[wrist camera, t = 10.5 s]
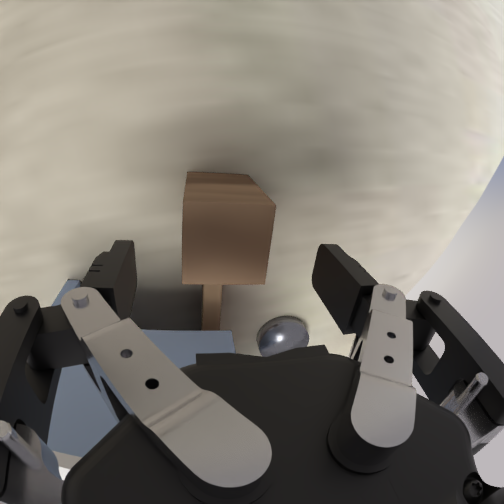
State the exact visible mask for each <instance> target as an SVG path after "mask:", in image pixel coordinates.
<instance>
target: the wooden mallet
mask: <svg viewBox="0 0 504 504" xmlns="http://www.w3.org/2000/svg"><path fill="white" fill-rule="evenodd" d="M275 210H276V205H275V204H274V202H273V201H272V200H271V199H270V198H269V197H268V196H267V195H266V194H265V193H264V192H263V191H262V190H261V189H260V187H259V186H258V185H257V184H256V183H255V182H254V181H253V180H252V179H251V178H250V177H249V176H248V175H241V174H225V173H204V172H187V179H186V185H185V192H184V199H183V221H182V284H202V331H220V316H221V300H222V285H248V284H265V279H266V273H267V266H268V259H269V252H270V245H271V238H272V232H273V224H274V217H275Z"/></svg>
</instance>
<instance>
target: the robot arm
mask: <svg viewBox="0 0 504 504" xmlns="http://www.w3.org/2000/svg"><path fill="white" fill-rule="evenodd" d="M312 285H313V288H314V289H315V291H316V292H317V294H318V296H319V297H320V299H321V300H322V302H323V303H324V305H325V306H326V308H327V310H328V311H329V313H330V314H331V316H332V317H333V319H334V320H335V322H336V324H337V325H338V327H339V328H340V330H341V332H342V333H343V335H344V334H352V333H355V334H356V335H355V338H354V340H353V343H352V347H351V350H350V354H349V357H345V356H342V355H337V354H329V352H328V350H327V348H326V347H325V345H318V346H309V347H299V348H294V349H291V350H288V351H284V352H281V353H278V354H275V355H271V356H267V357H260V356H252V355H244V354H236V353H197V354H196V364H192V365H188V366H185V367H182V368H180V369H179V368H178V367H177V366H176V365H175V364H174V363H173V362H172V361H171V360H170V359H169V358H168V357H167V356H166V355H165V354H164V353H163V352H162V351H161V350H160V349H159V348H158V347H157V346H156V345H155V344H154V343H153V342H152V341H151V340H150V339H149V338H148V337H147V336H146V335H145V334H144V333H143V331H142V330H141V329H140V328H139V327H138V326H137V325H136V324H135V323H134V322H133V321H132V320H131V319H130V318H129V317H130V312H131V308H132V304H133V300H134V296H135V291H136V286H137V273H136V262H135V249H134V242H133V240H116V241H115V242H114V244H113V246H112V248H111V250H110V252H103V253H101V254H100V255H98V256H97V257H96V258H95V260H94V261H93V263H92V266H91V267H90V269H89V272H87V274H86V276H85V278H84V280H83V282H82V284H81V286H80V287H79V288H75V289H72V290H70V291H68V292H67V293H66V294H64V296H63V297H62V299H61V304H60V305H56V306H50V307H44V308H40V305H39V302H38V300H37V299H36V298H35V297H32V296H22V297H18V298H16V299H14V300H12V301H11V302H10V303H9V304H8V305H7V306H6V307H5V309H4V311H3V313H2V314H1V316H0V504H504V487H503V488H500V487H494V486H490V485H488V484H486V483H485V482H484V481H482V479H481V477H480V475H479V474H478V471H477V468H476V465H475V462H474V458H473V455H475V454H476V453H477V452H478V451H480V449H482V448H483V447H484V446H485V445H486V444H488V442H490V441H491V440H492V439H493V438H494V437H495V436H496V435H497V434H498V433H499V432H500V431H501V430H502V429H503V428H504V364H503V362H502V361H501V360H500V359H499V357H498V356H497V355H496V354H495V353H494V352H493V350H492V349H491V348H490V347H489V346H488V345H487V343H486V342H485V341H484V340H483V339H482V338H481V337H480V336H479V334H478V333H477V332H476V331H475V330H474V329H473V328H472V327H471V326H470V325H469V323H468V322H467V321H466V320H465V319H464V318H463V317H462V316H461V315H460V314H459V313H458V312H457V311H456V310H455V309H454V308H453V307H452V306H451V305H450V304H449V302H448V301H447V300H446V299H445V298H443V297H442V296H441V295H439V294H437V293H435V292H432V291H423V292H421V294H420V297H419V299H418V301H413V300H406V298H405V295H404V293H403V292H402V291H400V290H399V289H397V288H396V287H394V286H391V285H387V284H378V283H377V282H376V280H375V279H374V278H373V277H372V276H371V275H370V274H369V273H368V272H366V270H365V269H364V268H363V267H362V266H361V265H360V264H359V263H358V262H357V261H356V260H355V259H353V258H351V257H350V256H348V255H347V254H346V253H345V252H344V251H343V250H342V249H341V248H340V247H339V246H338V245H337V244H321V245H320V246H319V248H318V252H317V256H316V260H315V265H314V269H313V273H312ZM435 332H437V333H438V334H439V336H440V337H441V338H442V340H443V341H444V343H445V351H444V353H443V355H442V357H441V358H440V359H439V358H438V356H437V355H436V354H435V352H434V351H433V350H432V348H431V347H430V346H429V343H430V341H431V339H432V337H433V335H434V334H435ZM81 364H82V366H83V368H84V370H85V371H86V373H87V375H88V376H89V378H90V380H91V381H92V383H93V384H94V386H95V388H96V389H97V391H98V392H99V394H100V395H101V397H102V398H103V400H104V402H105V403H106V405H107V407H108V408H109V410H110V412H111V413H112V415H113V417H114V418H115V420H116V421H117V423H118V424H117V425H116V426H115V427H113V428H112V429H111V430H110V431H109V432H108V433H107V434H106V435H105V436H104V437H103V438H102V439H101V440H100V441H99V442H98V443H97V444H96V445H95V446H94V447H93V448H92V449H91V450H90V451H89V452H88V453H87V454H85V455H84V456H83V457H82V458H81V459H80V460H79V461H78V462H77V463H76V464H75V465H74V466H73V467H72V468H71V469H70V471H69V472H68V473H67V475H66V477H65V480H62V478H61V476H60V473H59V464H58V460H57V458H56V456H55V454H54V453H53V451H52V450H51V449H50V448H49V447H48V446H47V441H48V434H49V428H50V422H51V416H52V411H53V406H54V401H55V396H56V391H57V387H58V383H59V378H60V374H61V370H62V368H64V367H70V366H76V365H81ZM412 373H413V374H414V376H415V378H416V379H417V381H418V382H419V384H420V386H421V387H422V389H423V390H424V392H425V394H426V395H427V397H428V398H429V400H428V399H427V398H424V397H423V396H421V395H419V394H417V393H416V389H415V388H414V387H413V386H412Z"/></svg>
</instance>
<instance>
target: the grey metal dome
mask: <svg viewBox="0 0 504 504" xmlns="http://www.w3.org/2000/svg"><path fill="white" fill-rule="evenodd" d="M308 342H309V335H308V332H307V330H306V328H305V326H304V324H303V323H302V321H301V320H299V319H298V318H296V317H292V316H281V317H277V318H274V319H272V320H270V321H268V322H267V323H265V324H264V325H263V326H262V327H261V329H260V330H259V332H258V334H257V343H258V347H259V350H260V353H261V355H262V356H263V357H267V356H271V355H275V354H278V353H281V352H284V351H288V350H291V349H294V348H299V347H307V345H308Z"/></svg>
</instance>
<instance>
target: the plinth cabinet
mask: <svg viewBox="0 0 504 504" xmlns="http://www.w3.org/2000/svg"><path fill="white" fill-rule="evenodd" d="M79 287H80V282H79V280H67V282H66V283H65V285H64V286H63V288H62V290H61V291H60V293H59V294H58V296H57V298H56V299H55V301H54V303H53V304H52V306H56V305H60V304H61V299H62V297H63V296H64V294H66V293H67V292H68V291H70V290H72V289H75V288H79ZM142 331H143V333H144V334H145V335H146V336H147V337H148V338H149V339H150V340H151V341H152V342H153V343H154V344H155V345H156V346H157V347H158V348H159V349H160V350H161V351H162V352H163V353H164V354H165V355H166V356H167V357H168V358H169V359H170V360H171V361H172V362H173V363H174V364H175V365H176V366H177V367H178V368H179V369H180V368H182V367H185V366H188V365H192V364H196V354H197V353H236V352H235V347H234V342H233V337H232V331H231V330H229V331H172V330H142ZM117 424H118V423H117V421H116V420H115V418H114V417H113V415H112V413H111V412H110V410H109V408H108V407H107V405H106V403H105V402H104V400H103V398H102V397H101V395H100V394H99V392H98V391H97V389H96V388H95V386H94V384H93V383H92V381H91V380H90V378H89V376H88V375H87V373H86V371H85V370H84V368H83V366H82V364H81V365H76V366H70V367H64V368H62V370H61V374H60V378H59V383H58V387H57V391H56V396H55V401H54V406H53V411H52V416H51V422H50V428H49V434H48V441H47V446H48V447H49V448H50V449H51V450H52V451H53V453H54V454H55V456H56V458H57V460H58V464H59V473H60V476H61V478H62V480H65V477H66V475H67V473H68V472H69V471H70V469H71V468H72V467H73V466H74V465H75V464H76V463H77V462H78V461H79V460H80V459H81V458H82V457H83V456H84V455H85V454H87V453H88V452H89V451H90V450H91V449H92V448H93V447H94V446H95V445H96V444H97V443H98V442H99V441H100V440H101V439H102V438H103V437H104V436H105V435H106V434H107V433H108V432H109V431H110V430H111V429H112V428H113V427H115V426H116V425H117Z"/></svg>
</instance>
